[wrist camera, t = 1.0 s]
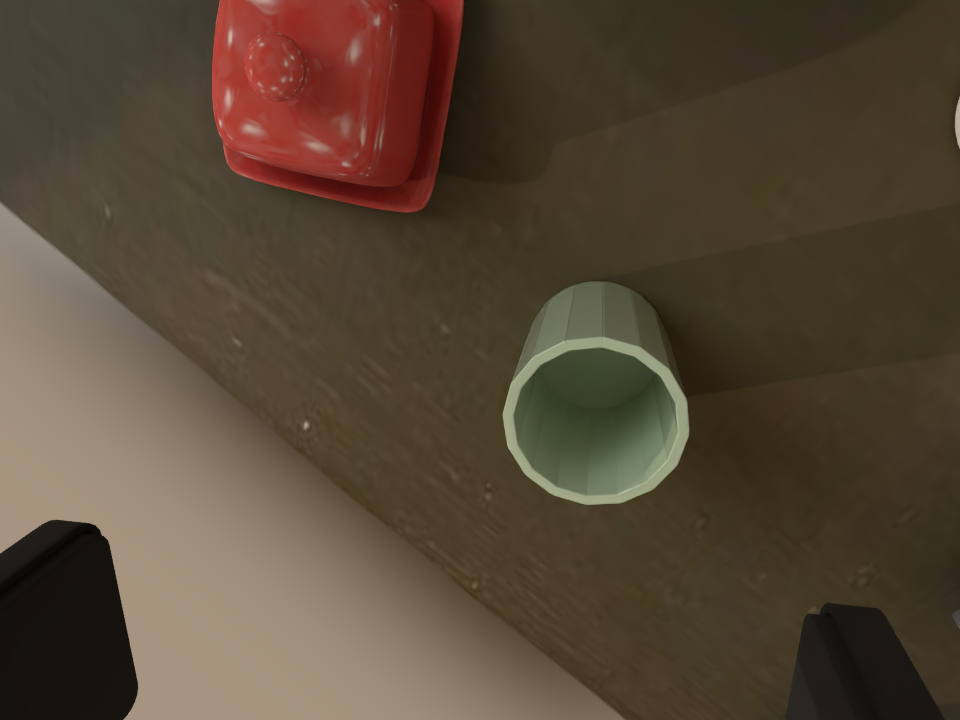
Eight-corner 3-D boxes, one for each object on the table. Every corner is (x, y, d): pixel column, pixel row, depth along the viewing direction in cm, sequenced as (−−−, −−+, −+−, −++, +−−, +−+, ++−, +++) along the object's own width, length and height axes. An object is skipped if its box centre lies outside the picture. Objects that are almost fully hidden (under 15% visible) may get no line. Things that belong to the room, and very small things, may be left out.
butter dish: (246, -71, 33) (131, -133, 25) (477, -27, 31) (435, -76, 24) (232, 171, 37) (129, 185, 29) (436, 218, 36) (388, 245, 28)
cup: (514, 388, 38) (485, 475, 29) (549, 264, 35) (529, 315, 26) (641, 425, 37) (653, 525, 28) (686, 302, 35) (716, 367, 25)
